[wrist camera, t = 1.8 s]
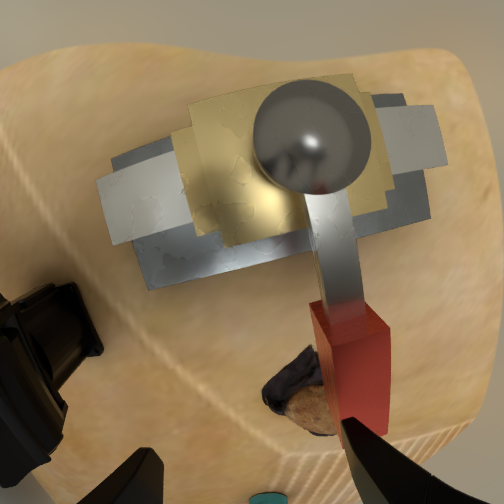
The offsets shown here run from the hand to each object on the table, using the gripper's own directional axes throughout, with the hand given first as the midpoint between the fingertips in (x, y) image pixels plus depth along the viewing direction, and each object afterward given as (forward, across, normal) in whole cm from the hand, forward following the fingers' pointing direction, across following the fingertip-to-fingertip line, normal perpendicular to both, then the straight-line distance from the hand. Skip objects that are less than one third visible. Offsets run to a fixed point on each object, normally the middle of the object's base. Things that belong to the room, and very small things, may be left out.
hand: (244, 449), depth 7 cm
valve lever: (+4, -4, -3) cm, 7 cm away
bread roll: (+14, -4, +11) cm, 18 cm away
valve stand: (+13, -4, -8) cm, 16 cm away
